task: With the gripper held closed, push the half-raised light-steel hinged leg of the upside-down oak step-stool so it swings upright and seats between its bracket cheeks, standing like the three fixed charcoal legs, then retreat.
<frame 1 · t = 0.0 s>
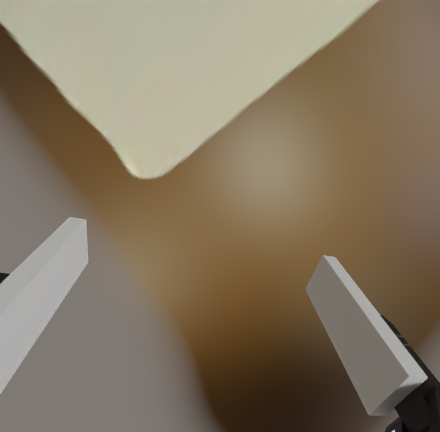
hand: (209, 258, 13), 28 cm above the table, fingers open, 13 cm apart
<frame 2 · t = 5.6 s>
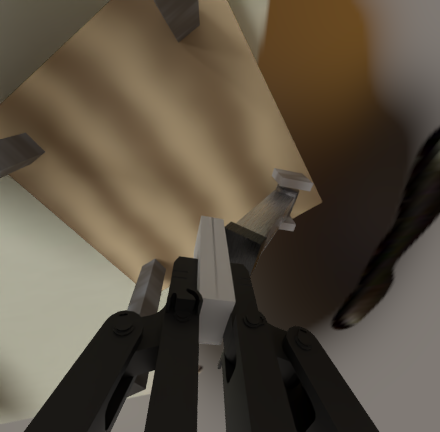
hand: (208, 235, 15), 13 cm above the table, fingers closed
stool top: (168, 164, 26), on the table
hinged leg: (268, 217, 19), point 9 cm above the table, hinge at 58.0°, touching gripper
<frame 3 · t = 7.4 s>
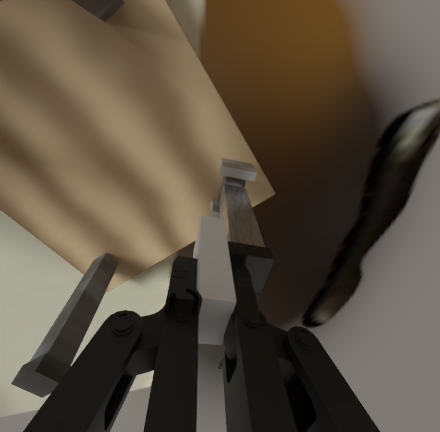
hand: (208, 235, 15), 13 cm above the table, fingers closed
stool top: (115, 154, 25), on the table
hinged leg: (235, 216, 18), point 10 cm above the table, hinge at 87.7°, touching gripper
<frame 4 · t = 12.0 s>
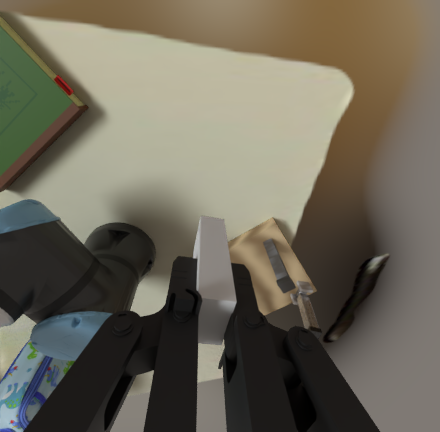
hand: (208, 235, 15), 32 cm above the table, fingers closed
stool top: (251, 274, 60), on the table
hinged leg: (306, 310, 54), point 10 cm above the table, hinge at 81.9°
lunch box: (65, 354, 72), on the table
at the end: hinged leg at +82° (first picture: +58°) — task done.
